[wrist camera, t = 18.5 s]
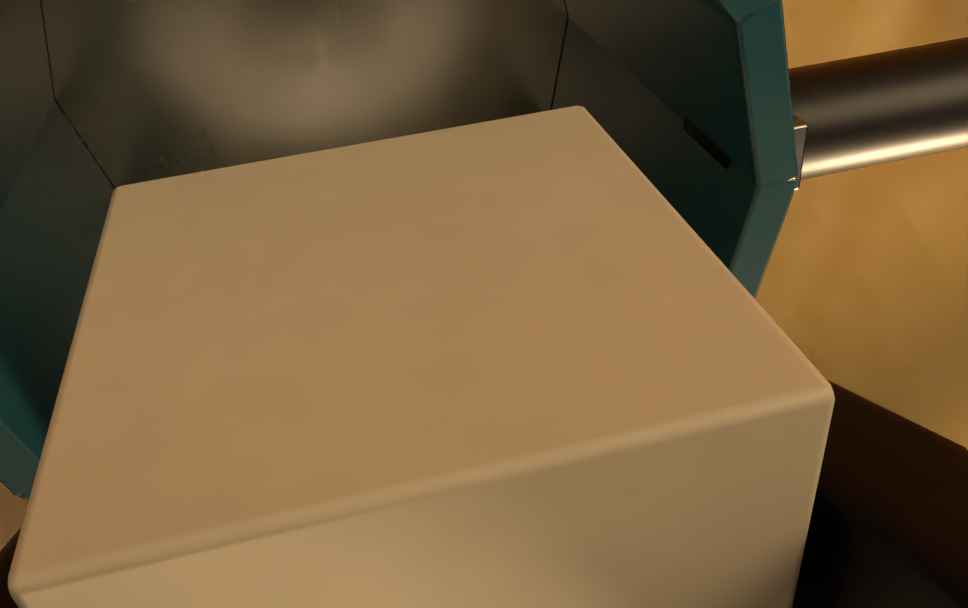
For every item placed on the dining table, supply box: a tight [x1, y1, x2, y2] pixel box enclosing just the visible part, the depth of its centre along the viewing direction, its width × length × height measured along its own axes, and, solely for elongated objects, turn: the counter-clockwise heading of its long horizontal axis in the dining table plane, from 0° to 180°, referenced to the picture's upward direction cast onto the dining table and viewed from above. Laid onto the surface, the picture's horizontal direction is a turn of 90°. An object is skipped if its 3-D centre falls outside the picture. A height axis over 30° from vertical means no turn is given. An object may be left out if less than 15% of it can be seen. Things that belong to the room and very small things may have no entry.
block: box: [8, 106, 835, 608], centre depth 8 cm, size 4×4×4 cm
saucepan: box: [0, 0, 968, 501], centre depth 14 cm, size 11×22×8 cm, turn 95°
